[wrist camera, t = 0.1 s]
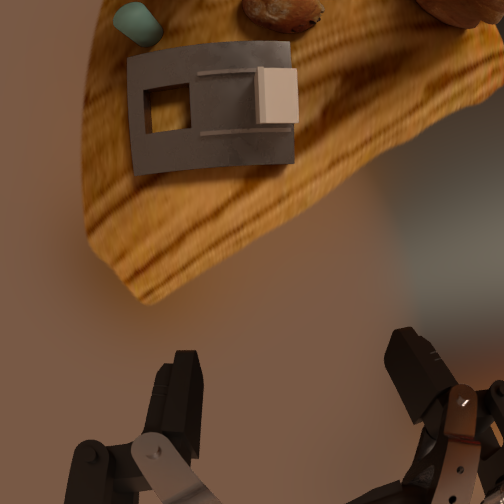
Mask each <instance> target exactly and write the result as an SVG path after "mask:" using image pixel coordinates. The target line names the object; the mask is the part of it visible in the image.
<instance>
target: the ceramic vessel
mask: <svg viewBox="0 0 504 504" xmlns="http://www.w3.org/2000/svg"><path fill="white" fill-rule="evenodd" d="M415 1H416V2H417V3H418V4H419V5H420V6H421V7H422V8H423V9H424V10H425V11H426V12H428V13H429V14H431V15H432V16H434V17H435V18H436V19H438V20H440V21H441V22H443V23H445V24H448V25H451V26H455V27H461V28H464V29H472V28H475V27H476V26H477V25H478V24H479V22H480V20H482V21H484V22H485V23H488V24H497V23H498V22H499V21H500V20H501V19H502V17H503V15H504V0H415Z"/></svg>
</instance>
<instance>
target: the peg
mask: <svg viewBox="0 0 504 504" xmlns="http://www.w3.org/2000/svg"><path fill="white" fill-rule="evenodd" d="M113 24H114V26H115V28H117V29H118V30H119V31H121V32H122V33H123V34H125V35H126V36H127V37H129V38H130V39H131V40H133V41H134V42H135V43H137V44H138V45H139V46H141V47H150V46H153V45H155V44H156V43H157V42H159V40H160V39H161V38H162V35H163V29H162V27H161V25H160V24H159V23H158V22H157V20H156V19H155V18H154V17H153V15H152V14H151V13H150V12H149V10H148V9H147V8H146V7H145V5H144V4H142V3H140V2H131V3H128V4H126V5H124V6H122V7H121V8H120V9H119V10H118V11H117V12H116V14H115V16H114V18H113Z"/></svg>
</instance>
